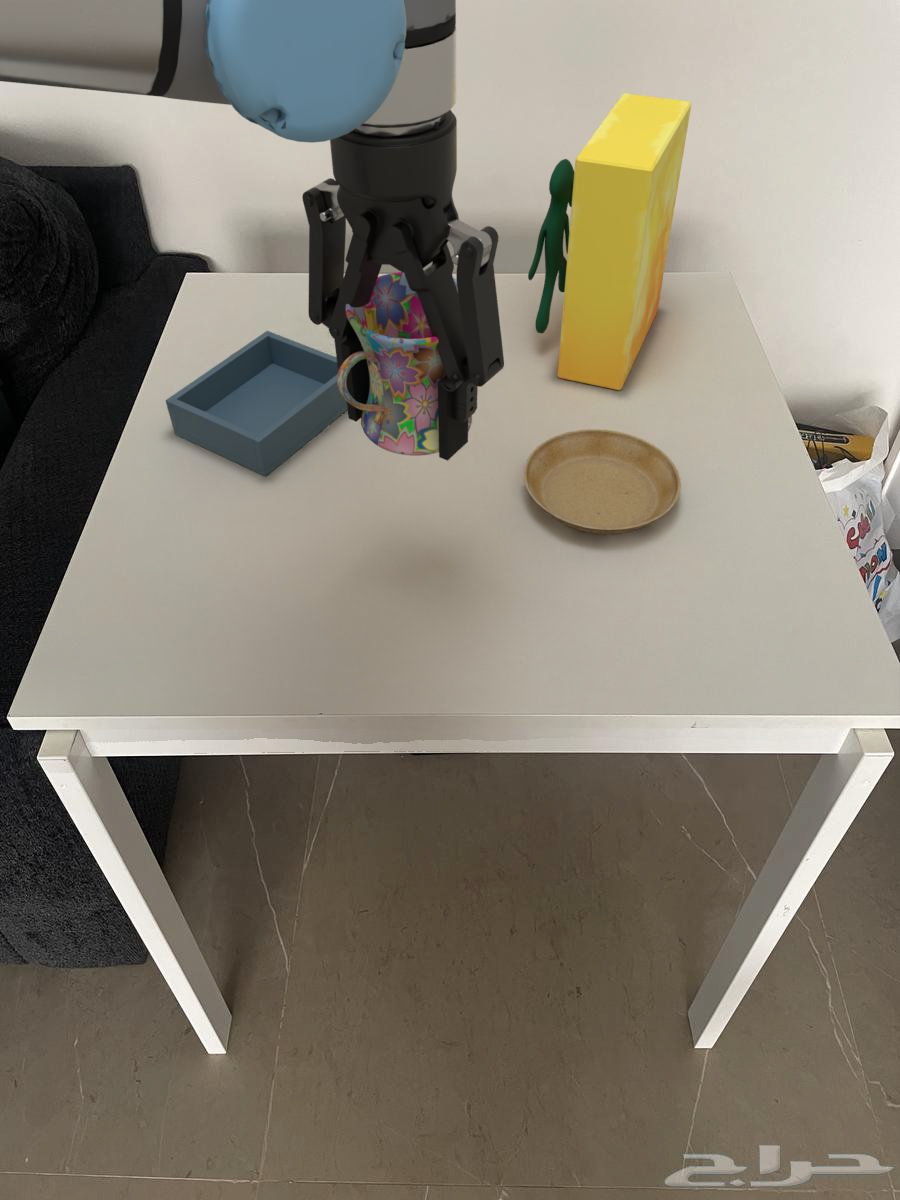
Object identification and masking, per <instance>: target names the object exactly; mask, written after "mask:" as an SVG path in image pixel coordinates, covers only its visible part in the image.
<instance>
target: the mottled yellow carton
mask: <svg viewBox="0 0 900 1200" xmlns="http://www.w3.org/2000/svg"><path fill="white" fill-rule="evenodd" d="M691 109H692V103H691V101H690V100H682V99H675V98H665V97H659V96H658V97H657V96H652V95H651V96H649V95H642V94H634V93H626V92H624V93H622V94H621V96H620V97H619V98H618V100H617V101H616V102H615V104H614V105H613V106H612V108H611V109H610V111H609V112H608V114H607V115H606V117H605V118H604V119H603V120H602V122H601V123H600V125H599V126H598V127H597V129H596V130H595V132H594V133H593V134H592V136H590V138H589V140H588V141H587V143H586V144H585V145H584V147H583V148H582V150H581V151H580V152H579V154H578V155H577V156H576V157H575V159H574V167H573V164H572V162H571V161H570V160H569V159H567V158H564V159H561V160H559V162H558V163H557V164H556V165H555V166H554V169H553V171H552V172H551V175H550V180H549V182H548V183H549V185H548V190H549V194H550V202H549V206H548V210H547V212H546V215H545V217H544V220H543V222H542V224H541V227H540V230H539V232H538V233H539V234H538V237H537V242H536V248H535V253H534V256H533V260H532V263H531V266H530V268H529V271H528V274H527V279H528V280H529V281H532V280H533V279H534V277H535V276H536V273H537V270H538V267H539V264H540V262H541V258H542V254H543V249H544V269H545V271H544V272H545V275H544V283H543V288H542V293H541V297H540V302H539V306H538V311H537V313H536V317H535V323H534V327H535V331H536V333H537V334H545V332H546V330H547V329H548V326H549V322H550V314H551V307H552V301H553V296H554V291H555V286H556V281H558V282H557V287H558V291H559V292H560V293H564V294H563V305H562V306H563V308H562V317H561V329H560V341H559V355H558V363H557V377H558V378H559V379H563V380H568V381H573V382H578V383H581V384H587V385H591V386H592V385H593V386H595V387H600V388H606V389H611V390H614V391H615V390H616V391H621V390H622V389H623V387H624V384H625V383H626V381H627V378H628V376H629V374H630V371H631V370H632V367H633V365H634V363H635V361H636V359H637V357H638V354H639V352H640V350H641V348H642V346H643V344H644V341H645V340H646V337H647V335H648V333H649V332H650V328H651V326H652V324H653V322H654V320H655V318H656V316H657V314H658V309H659V305H660V298H661V293H662V291H661V290H662V285H663V279H664V273H665V268H666V261H667V255H668V250H669V248H668V247H669V243H670V237H671V230H672V224H673V218H674V212H675V206H676V202H677V201H676V200H677V194H678V189H679V183H680V182H679V181H680V177H681V170H682V164H683V158H684V153H685V146H686V139H687V133H688V127H689V120H690V117H691ZM568 206H569V207H570V218H569V215H568V213H567V211H568ZM564 240H565V250H566V254H567V255H566V257H565V256H564Z"/></svg>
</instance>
